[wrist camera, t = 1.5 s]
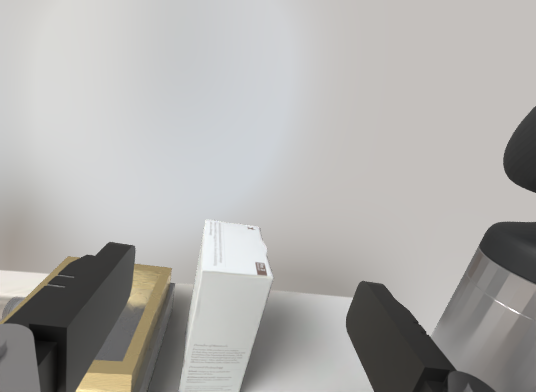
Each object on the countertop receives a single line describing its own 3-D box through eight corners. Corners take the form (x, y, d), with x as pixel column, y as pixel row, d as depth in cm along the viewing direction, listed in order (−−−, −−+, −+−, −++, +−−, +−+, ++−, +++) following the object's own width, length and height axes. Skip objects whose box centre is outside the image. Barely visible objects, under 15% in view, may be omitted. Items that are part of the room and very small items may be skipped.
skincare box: (185, 330, 32) (201, 216, 27) (236, 331, 34) (260, 222, 29) (176, 406, 25) (196, 266, 20) (242, 403, 26) (277, 272, 21)
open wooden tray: (171, 309, 35) (177, 266, 33) (132, 440, 22) (136, 381, 20) (39, 297, 32) (35, 249, 30) (-95, 437, 19) (-118, 370, 17)
